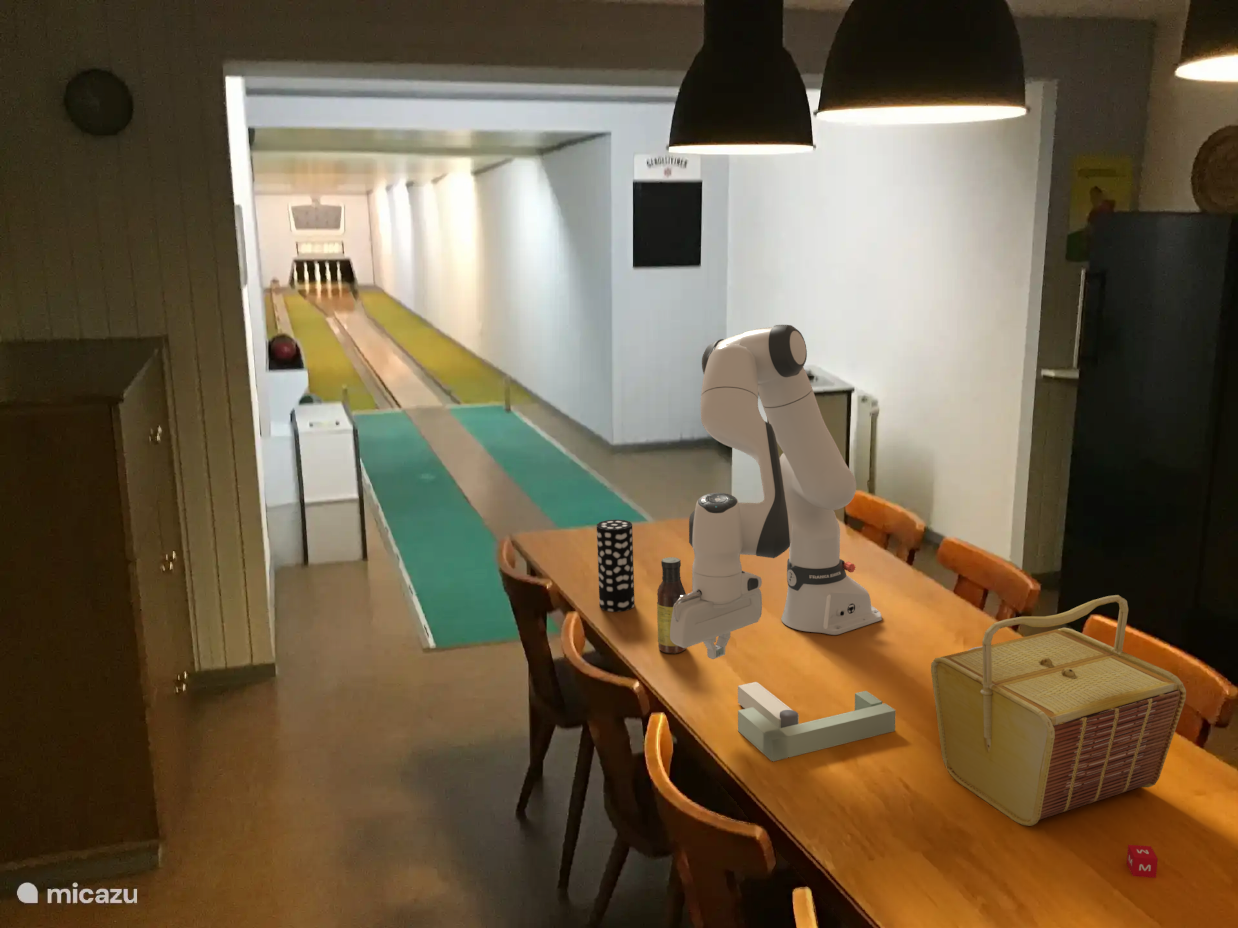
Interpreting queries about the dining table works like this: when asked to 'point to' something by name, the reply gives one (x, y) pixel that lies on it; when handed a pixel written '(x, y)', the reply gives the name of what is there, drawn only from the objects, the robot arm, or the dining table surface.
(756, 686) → the bar
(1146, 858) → the dice
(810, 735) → the frame
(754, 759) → the dining table surface
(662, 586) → the sauce bottle
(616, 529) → the white-spotted black cylinder
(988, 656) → the picnic basket
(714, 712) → the dining table surface
